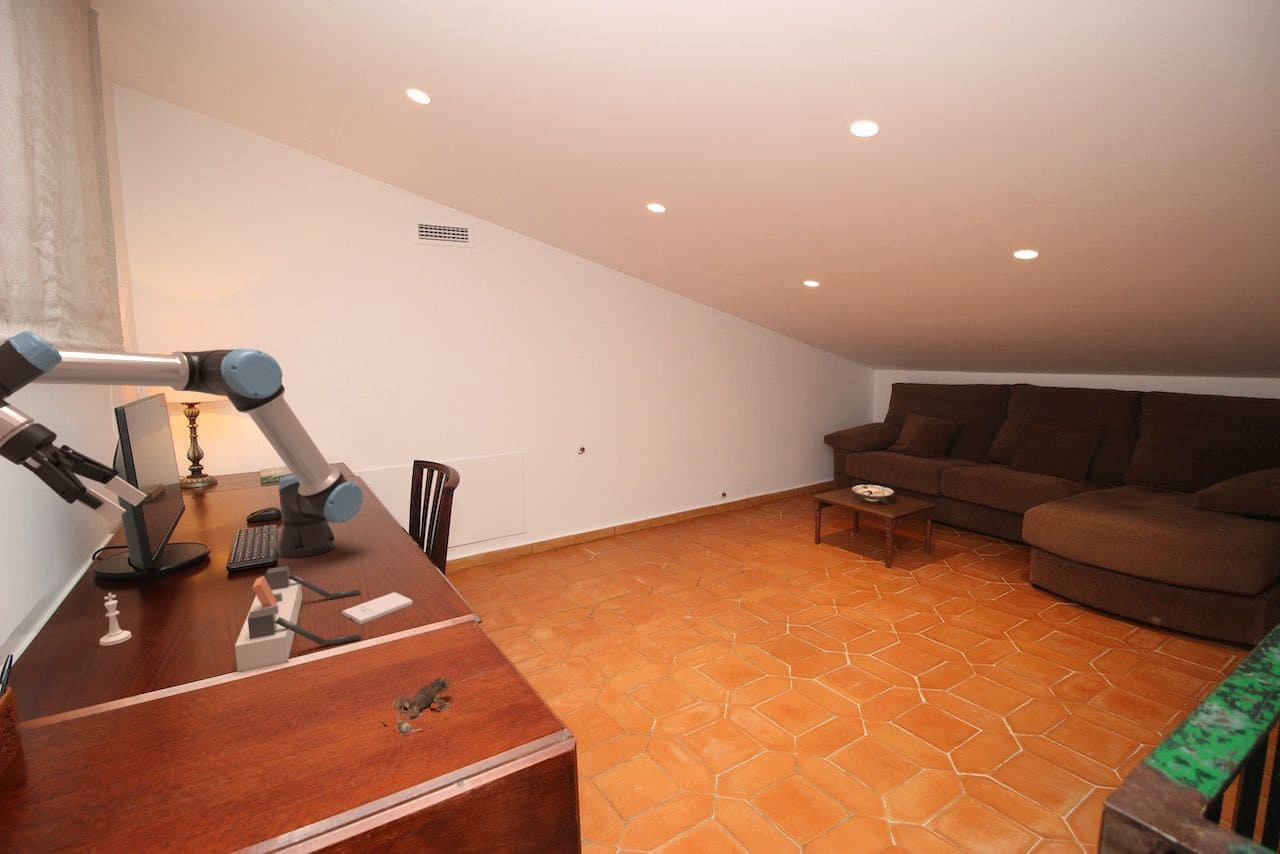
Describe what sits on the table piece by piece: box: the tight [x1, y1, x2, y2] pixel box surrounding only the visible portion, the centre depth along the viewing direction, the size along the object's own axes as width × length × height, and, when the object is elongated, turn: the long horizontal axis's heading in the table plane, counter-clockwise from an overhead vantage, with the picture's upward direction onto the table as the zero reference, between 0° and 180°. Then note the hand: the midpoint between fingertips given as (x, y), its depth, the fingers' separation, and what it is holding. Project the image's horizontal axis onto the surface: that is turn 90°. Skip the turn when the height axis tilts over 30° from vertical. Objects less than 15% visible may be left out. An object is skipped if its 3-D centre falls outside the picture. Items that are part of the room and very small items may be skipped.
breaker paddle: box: [251, 575, 276, 607], centre depth 121 cm, size 2×5×6 cm, turn 25°
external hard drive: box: [341, 591, 414, 625], centre depth 132 cm, size 2×8×12 cm
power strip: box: [234, 565, 362, 672], centre depth 125 cm, size 21×32×9 cm, turn 26°
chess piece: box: [99, 592, 132, 646], centre depth 118 cm, size 5×5×10 cm
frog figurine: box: [381, 677, 452, 734], centre depth 95 cm, size 12×12×4 cm
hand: (131, 508), depth 113 cm, fingers open, 13 cm apart
